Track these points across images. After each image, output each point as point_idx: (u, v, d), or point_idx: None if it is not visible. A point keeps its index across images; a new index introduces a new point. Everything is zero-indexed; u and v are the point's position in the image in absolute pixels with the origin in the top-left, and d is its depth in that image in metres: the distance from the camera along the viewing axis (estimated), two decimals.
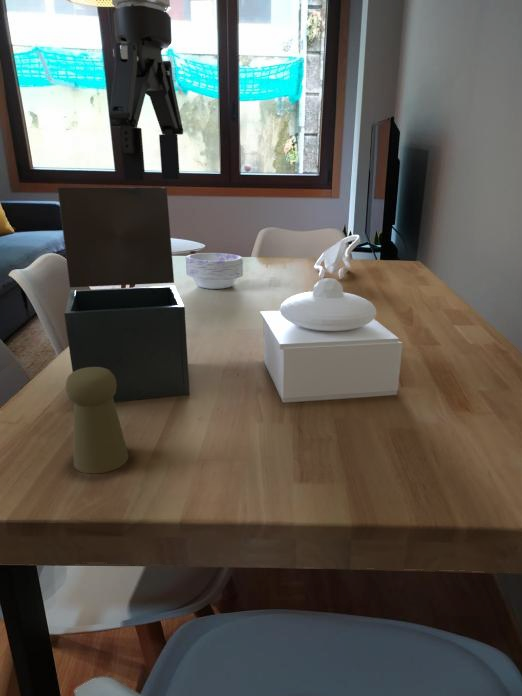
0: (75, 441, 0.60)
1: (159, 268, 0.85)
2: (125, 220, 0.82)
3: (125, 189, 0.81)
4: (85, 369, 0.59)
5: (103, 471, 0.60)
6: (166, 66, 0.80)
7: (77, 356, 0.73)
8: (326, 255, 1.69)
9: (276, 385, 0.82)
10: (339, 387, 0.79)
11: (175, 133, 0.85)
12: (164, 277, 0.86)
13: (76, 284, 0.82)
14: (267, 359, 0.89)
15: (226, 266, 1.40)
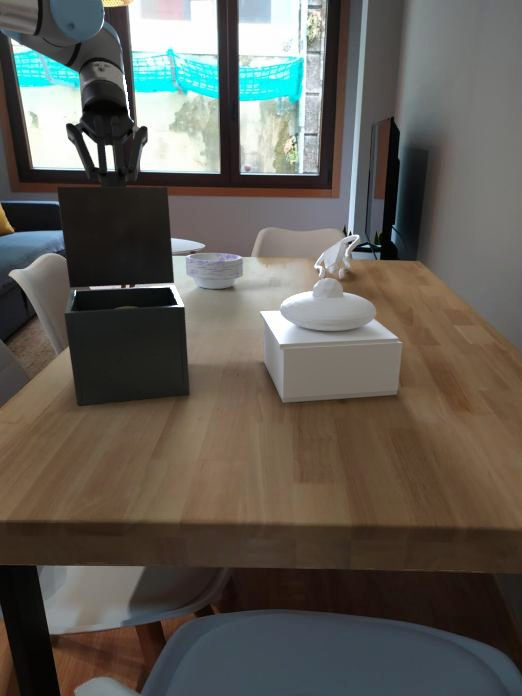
0: None
1: (159, 269, 0.85)
2: (125, 220, 0.82)
3: (125, 189, 0.80)
4: (123, 307, 0.80)
5: None
6: None
7: (77, 356, 0.73)
8: (326, 255, 1.69)
9: (276, 385, 0.82)
10: (339, 387, 0.79)
11: (117, 171, 0.85)
12: (164, 277, 0.86)
13: (76, 284, 0.82)
14: (267, 359, 0.89)
15: (226, 266, 1.40)
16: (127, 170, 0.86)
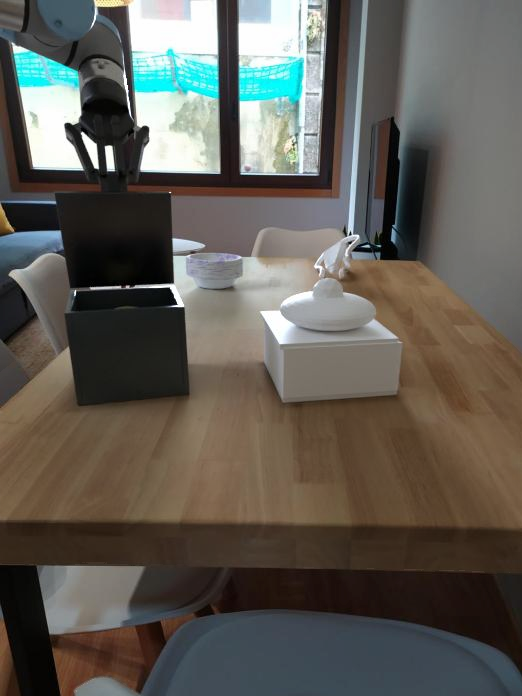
0: None
1: (160, 271, 0.85)
2: (126, 226, 0.79)
3: (126, 195, 0.76)
4: (123, 307, 0.80)
5: None
6: None
7: (77, 356, 0.73)
8: (326, 255, 1.69)
9: (276, 385, 0.82)
10: (339, 387, 0.79)
11: (117, 173, 0.81)
12: (164, 279, 0.86)
13: (76, 285, 0.82)
14: (267, 359, 0.89)
15: (226, 266, 1.40)
16: (128, 172, 0.82)
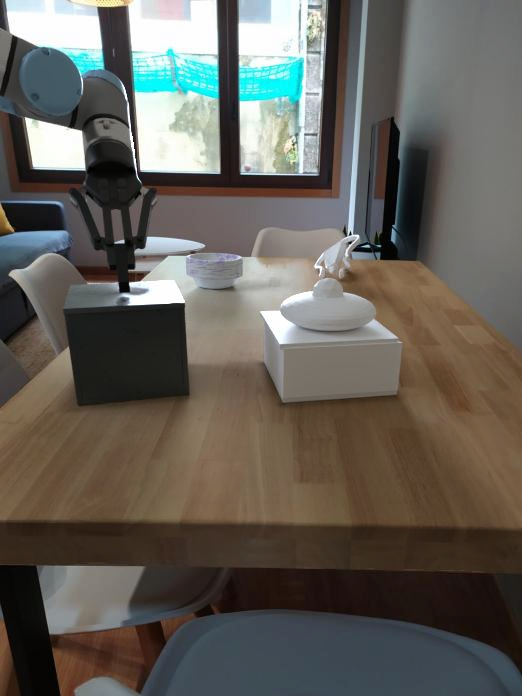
0: None
1: None
2: None
3: None
4: None
5: None
6: None
7: (77, 356, 0.73)
8: (326, 255, 1.69)
9: (276, 385, 0.82)
10: (339, 387, 0.79)
11: (125, 241, 0.78)
12: None
13: None
14: (267, 359, 0.89)
15: (226, 266, 1.40)
16: (135, 239, 0.79)
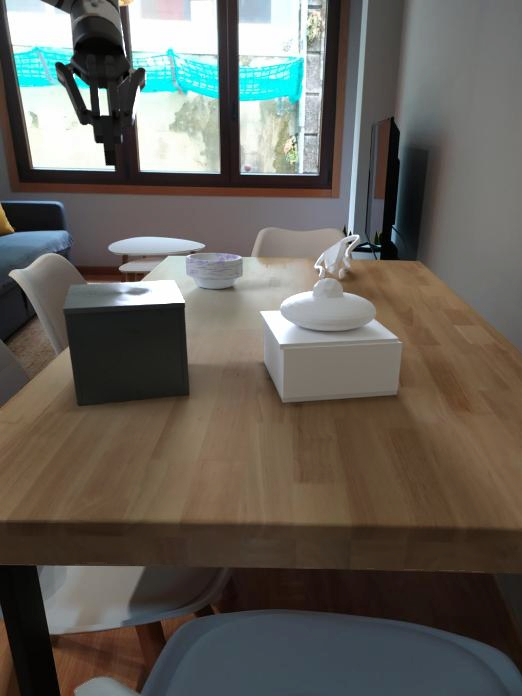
0: None
1: None
2: None
3: (139, 309, 0.73)
4: None
5: None
6: None
7: (77, 356, 0.73)
8: (326, 255, 1.69)
9: (276, 385, 0.82)
10: (339, 387, 0.79)
11: (111, 114, 0.76)
12: None
13: None
14: (267, 359, 0.89)
15: (226, 266, 1.40)
16: (122, 113, 0.77)
